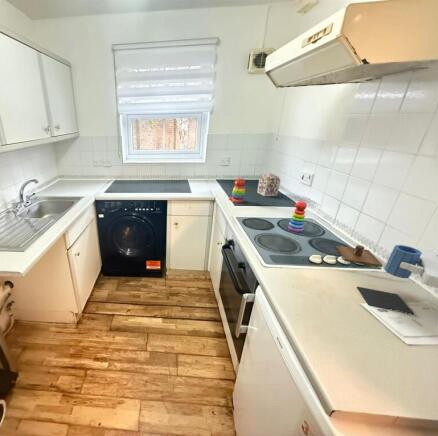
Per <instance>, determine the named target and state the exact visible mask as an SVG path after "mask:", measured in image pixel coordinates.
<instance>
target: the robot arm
mask: <svg viewBox="0 0 438 436" xmlns="http://www.w3.org/2000/svg"><path fill="white" fill-rule="evenodd" d="M416 249H417V250H419V251H420V252H422V254H421V256H420V258H419V260H418V262H417V264H416V266H414V265H412V264H409V263H408V262H404V261H401V262H400V267H401V268H404V269H407V270H409V271H411V272H412V273H413V274H416V275H419V277H420V280H421V282H422V284H425V286H429V287H432V288H436V289H438V251H437V250H432V249H427V248H416Z"/></svg>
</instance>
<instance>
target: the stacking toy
mask: <svg viewBox="0 0 438 436" xmlns="http://www.w3.org/2000/svg"><path fill="white" fill-rule="evenodd" d="M307 207H308V204H307V202H305V201H302V200H300V201H297V202H296V203H295V209H294V211H293V214H292V216H291V219H290V220H289V223H288V225H287V229H288V230H289V231H291V232H293V233H303V231H304V230H305V229H304V224H305V217H306V215H305V214H306V209H307Z"/></svg>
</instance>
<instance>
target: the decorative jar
mask: <svg viewBox="0 0 438 436" xmlns="http://www.w3.org/2000/svg"><path fill="white" fill-rule="evenodd" d="M280 185H281V178H280V177H279V176H278V175H275V173H274V172H268V173H267V174H263V175H261V176H260V177H259V180H258V184H257V190H256V193H257V194H259V195H260V196H262V197H265V198H267V197H278V194H279V191H280V190H279V189H280Z"/></svg>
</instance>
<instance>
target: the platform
mask: <svg viewBox="0 0 438 436" xmlns="http://www.w3.org/2000/svg"><path fill="white" fill-rule="evenodd" d="M334 248H335V250H336V251H337V252H338V254H339V256H340V257H341V258H342V260H343V261H344V262H347V263H353V264H360V265H366V266H371V267H378V268H382V267H383V263H381V261H379V260H378V258H377V257H376V256H375V255H374V254H373V253H372V252H371V251H370V250H369V249H365V246H363V245H361V244H357V245H356V246H355V247H350V246H343V245H336V244H335V246H334Z"/></svg>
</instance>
